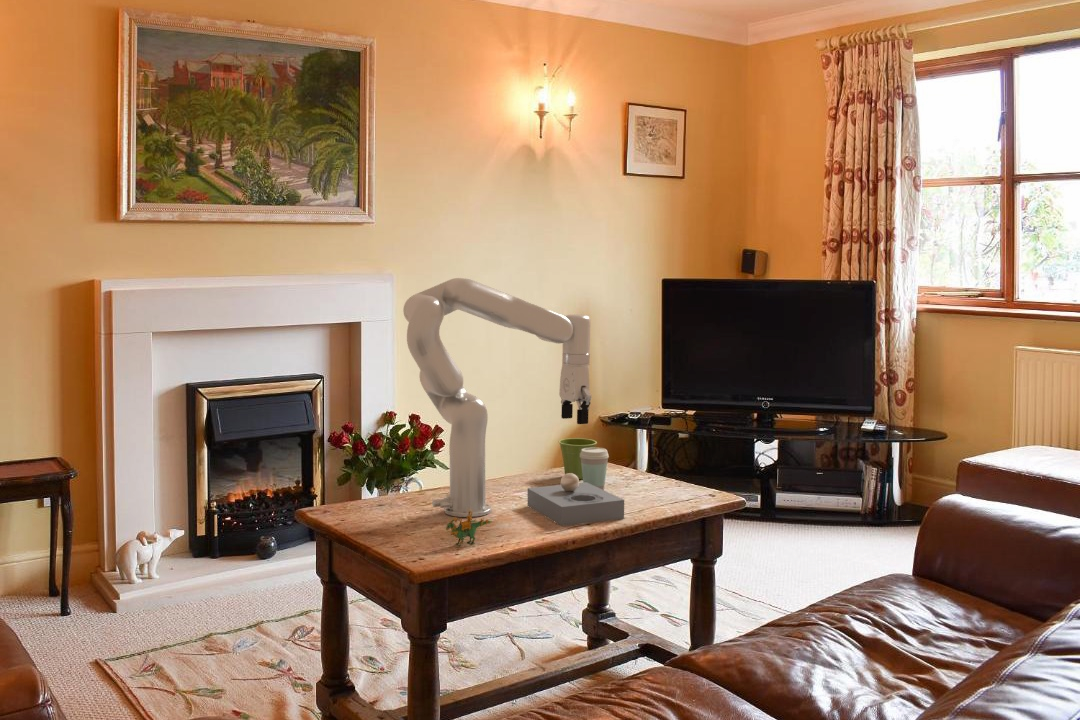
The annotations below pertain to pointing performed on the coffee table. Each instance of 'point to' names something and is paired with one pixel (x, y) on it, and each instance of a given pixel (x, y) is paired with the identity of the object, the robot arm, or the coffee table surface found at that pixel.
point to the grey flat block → (576, 504)
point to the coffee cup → (594, 466)
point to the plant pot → (574, 454)
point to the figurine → (465, 528)
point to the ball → (569, 482)
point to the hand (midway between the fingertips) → (574, 421)
